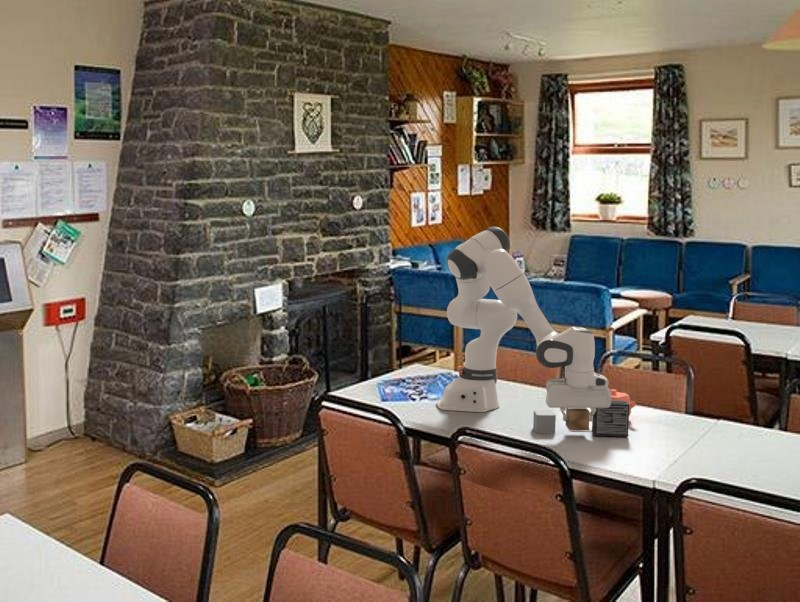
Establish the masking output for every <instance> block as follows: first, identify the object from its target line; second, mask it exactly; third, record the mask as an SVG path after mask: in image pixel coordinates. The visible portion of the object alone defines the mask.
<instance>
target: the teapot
mask: <svg viewBox="0 0 800 602" xmlns="http://www.w3.org/2000/svg"><path fill="white" fill-rule="evenodd" d="M610 392H611V401H626V402H627V403H628V404H629V405H630V407H629V417H630V416H631V413H632V409H633V408H635V407H636V406H637V403H636V401H634V400H631V399H630V394H627V393H626V392H619V391H618V390H617V389H613V388H612V389H610Z"/></svg>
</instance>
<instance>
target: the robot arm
mask: <svg viewBox="0 0 800 602" xmlns="http://www.w3.org/2000/svg"><path fill="white" fill-rule="evenodd" d="M510 248H511V242H510V238H509V236H508V235H507V233H506V232H505V231H504V230H503V229H502V228H500V227H497V226H491V227H487V228H485V229H484V230H483V231H480V232H479V233H477V234H475V235H473V236H471V237H469V238H468V239H467V240H466V241H464V242H463V243H460V244H459V245H457V246H456V247H455V248H453V249H452V251H450V253H449V254H448V255H447V256H446V264H447V267H448V270H449V271H450V273H451V274H452V275H453V276H454V278H455V281H456V285H457V289H458V290H457V291H458V293H457V296H456V297H455V298H454V299H451V301H449V304H448V306H447V308H446V317H447V319H448V321H449V323H450V324H451V325H453V326H456V327H458V328H461V329H462V328H464V329H472V330H480V336H479V337H477V338H474V339H472V340H470V341H469V342H468V343H467V344H466V346H465V351H464V354H465V355H464V356H465V357H464V366H463V365H458V366H457V368H456V369H457V371H458V377H457V378H456V379H454V380H453V381H452V382H450V383H449V384H447V385H445V388H444V390H443V393H442V394H443V395H442V397H440V398H438V399H437V401H436V406H437V407H438V409H440V410H443V411H455V412H457V411H458V412H469V413H470V412H471V413H472V412H473V413H485V412H487V411H493V410H497V409H498V408H499V407H500V403H499V399H498V391H497V382H498V369H497V353H498V345H499V344H500V341H501V339H502V338H503V336H504V335H505V334H506V333H508V332H509V331H510V330H512V329H513V327H514V326H515V325H516V323H517V320H518V315H520V317H521V318H522V319H523V321H524V322H525V324H526V326H527V328H528V329H529V330H530V331H531V334H532V335H533V336H534V338H535V343H536V350H535V355H536V359H537V361H538V363H539V364H540V365H541V366H542V367H545V368H547V369H555V368H557V369H558V368H563V367H565V369H564V377H560V378H558V377H557V378H554V377H553V378H550V379H548V380H547V381H546V383H545V390H546V395H545V404H546V406H547V407H548V408H550V409H551V408H552V409H554V408H556V409H558V408H559V411H560V412H561V414H562V421H564V422H566V421H569V416H568V415H566V408H587V409H589V410H590V411H589V412H590V415H589V422H592V418H593V415H594V413H595V412H596V408H609V407H610V405H611V392H610V390H611V389H610V388H609V383H610V381H609V379H608V377H606V376H605V375H603V374H600V373H597V372H595V367H594V360H595V356H596V355H595V354H596V351H595V350H596V348H595V347H596V345H595V336H594V334H593V332H592V331H591V330H590V329H587V328H585V327H582V326H573V325H572V326H570V327H569V328H567V329H566V330H564V331H561V332H560V331H558V330H557V329H555V328H554V327H553V326H552V325H551V323H549V321H548V319H547V318H546V316H545V314H544V313H543V312H542V310H541V308H540V306H539V305H538V303H537V301H536V298H535V295H534V292H533V290H532V289H533V288H532V285H530V282H529V279H528V278H527V276H526V274H525V273H524V270H522V268H521V267H520V265H519V264H518V262H517V261H516V260H515V259H514V258H513V257H512V255H511V254H510V253H509V251H510ZM490 289H491V290H492V291H493V292H494V295H495V296H496V297H497V299H491V298H490V299H489V298H484V297H486V295H487V294H488V293H489V291H490Z"/></svg>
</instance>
